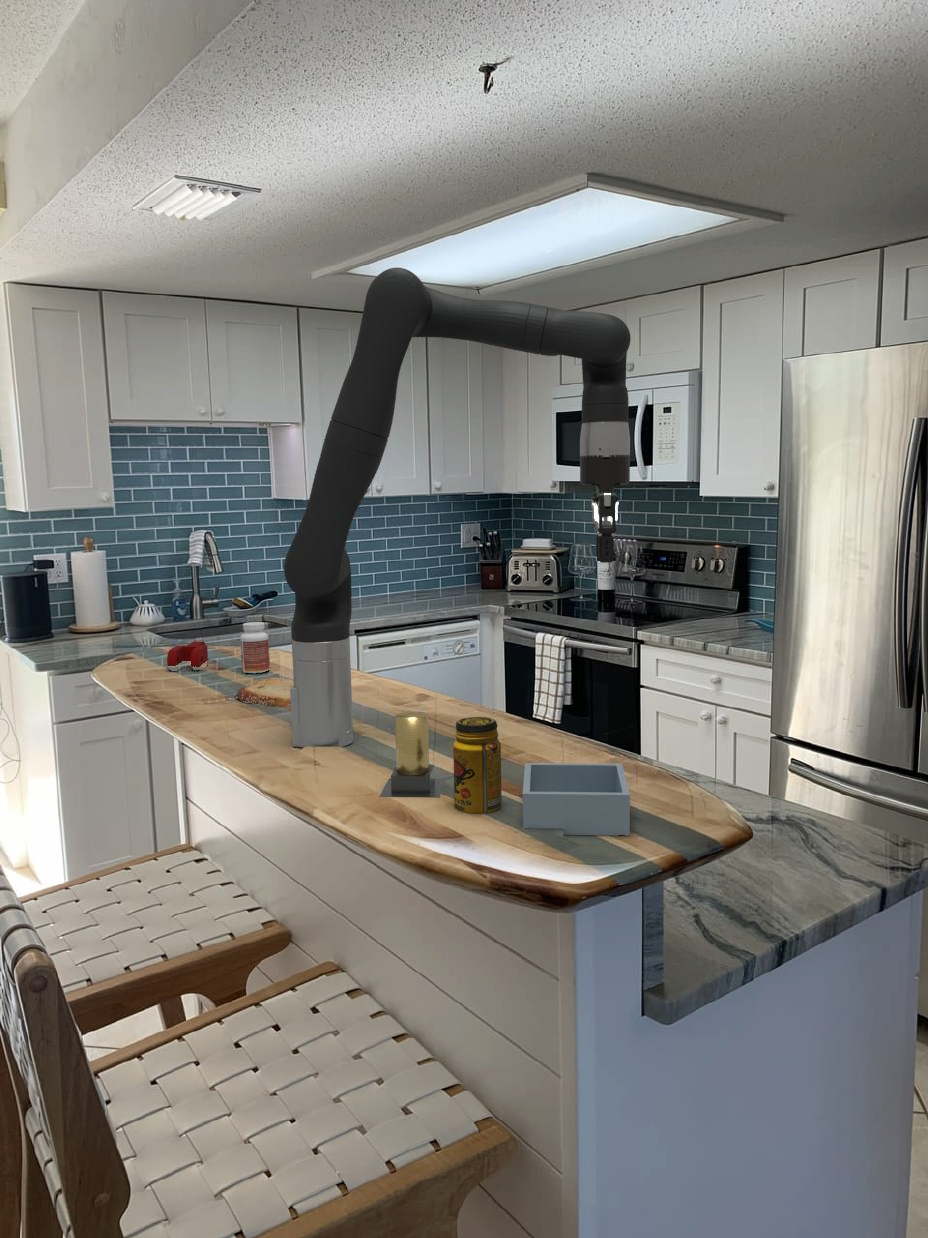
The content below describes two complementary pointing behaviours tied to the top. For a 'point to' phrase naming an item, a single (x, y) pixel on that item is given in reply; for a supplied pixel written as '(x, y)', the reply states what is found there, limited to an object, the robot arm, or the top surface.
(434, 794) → the stud plate
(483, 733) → the condiment
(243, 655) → the pill bottle
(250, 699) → the bread slice
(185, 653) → the red arch block
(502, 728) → the top surface
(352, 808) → the top surface
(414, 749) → the gold cylindrical piece
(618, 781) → the bin
